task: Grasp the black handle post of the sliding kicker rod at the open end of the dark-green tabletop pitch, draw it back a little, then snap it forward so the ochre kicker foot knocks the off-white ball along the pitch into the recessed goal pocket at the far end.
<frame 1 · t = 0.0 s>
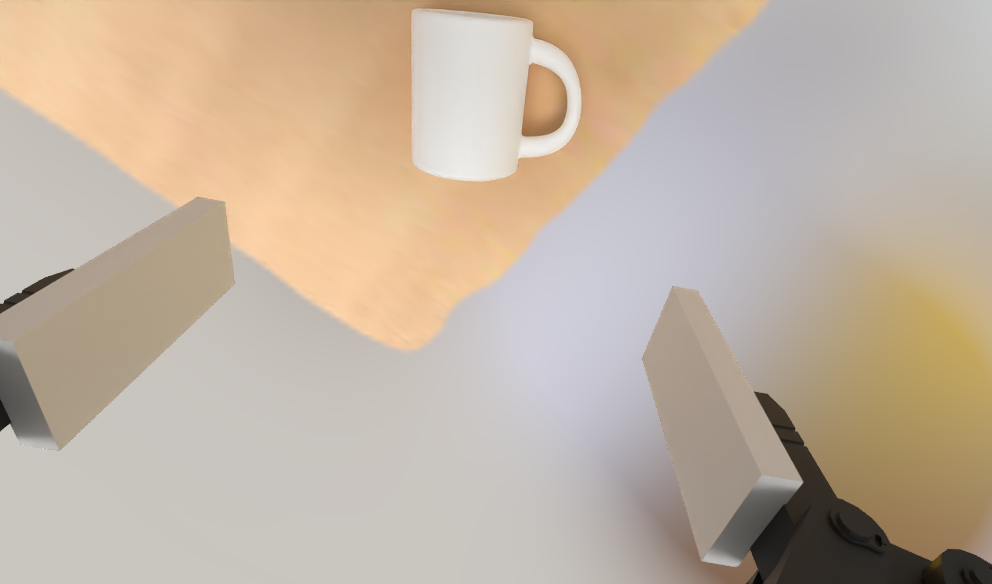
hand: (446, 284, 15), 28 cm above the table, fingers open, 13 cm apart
mug: (500, 88, 38), on the table
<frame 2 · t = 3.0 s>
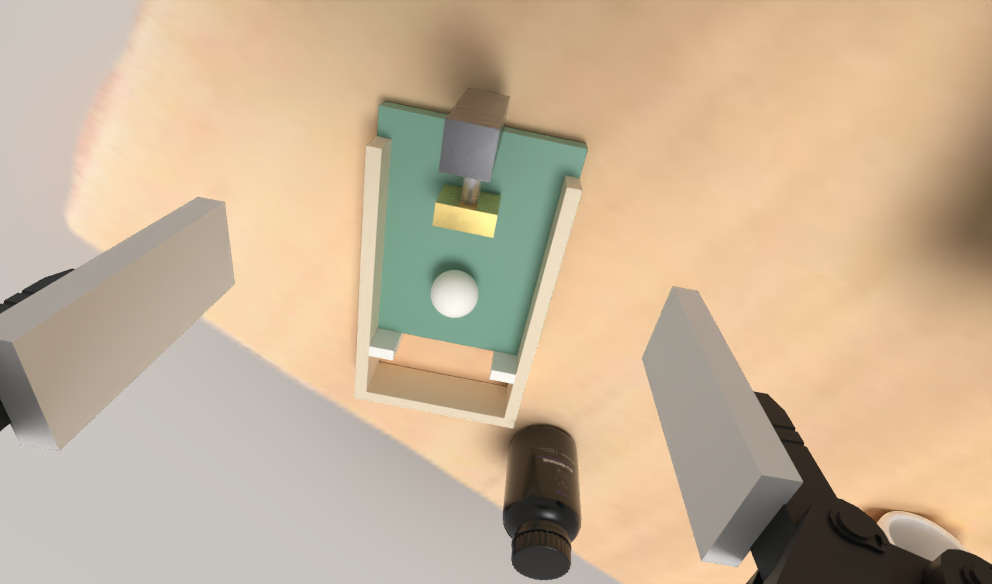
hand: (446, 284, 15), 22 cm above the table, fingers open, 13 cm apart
supplement bottle: (542, 445, 50), on the table
pitch: (460, 272, 40), on the table
mug: (895, 539, 53), on the table
ball: (454, 293, 37), point 3 cm above the table, touching pitch
kicker rod: (470, 176, 29), point 6 cm above the table, slide at 0.0 cm
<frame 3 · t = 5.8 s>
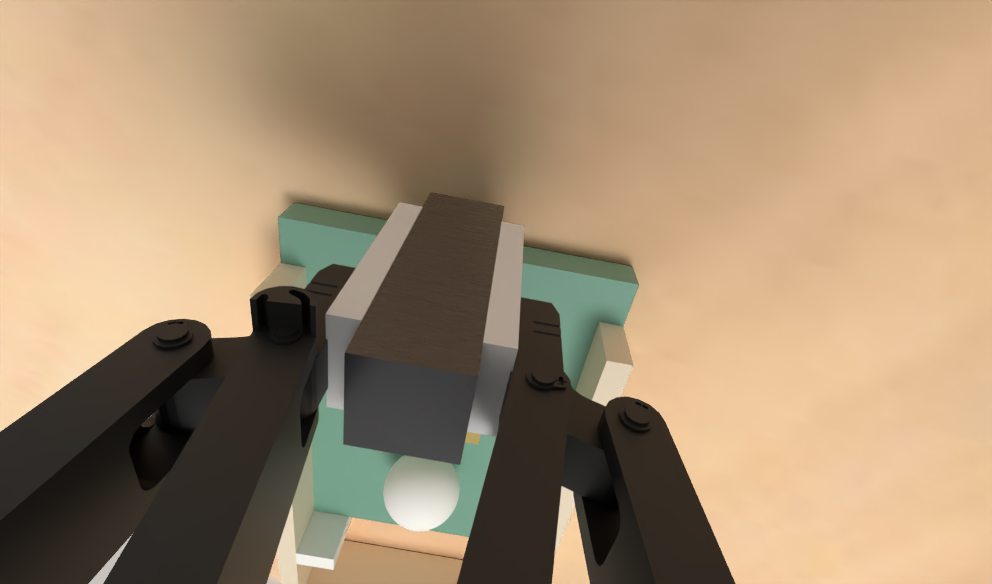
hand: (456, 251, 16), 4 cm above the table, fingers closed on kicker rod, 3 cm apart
pitch: (434, 436, 26), on the table
ball: (421, 489, 23), point 3 cm above the table, touching pitch
kicker rod: (432, 370, 15), point 6 cm above the table, slide at 0.0 cm, touching gripper
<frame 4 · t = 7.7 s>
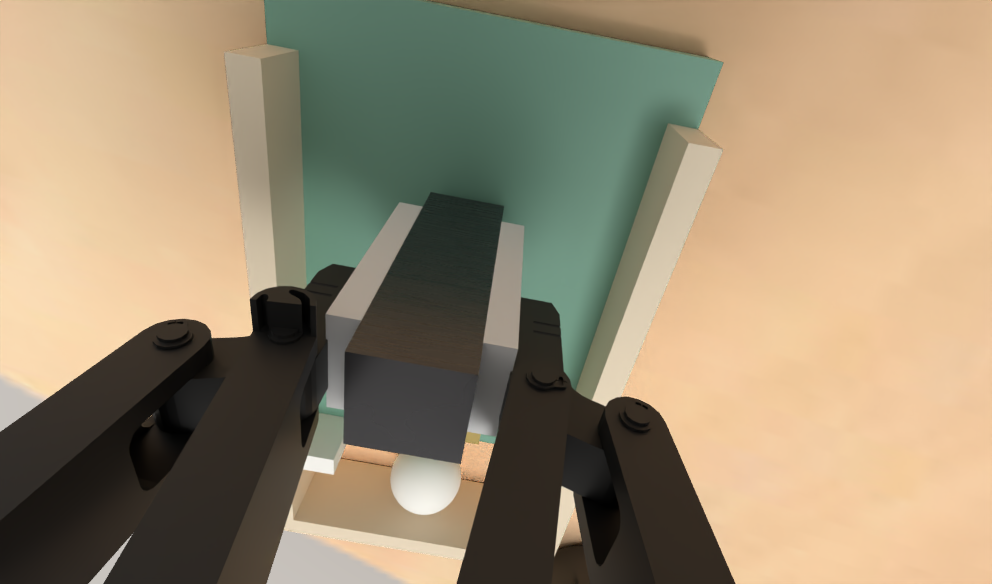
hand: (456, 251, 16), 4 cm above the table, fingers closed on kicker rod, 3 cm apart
supplement bottle: (585, 569, 32), on the table
pitch: (452, 315, 22), on the table
ball: (426, 476, 25), point 2 cm above the table, tilted 64°
kicker rod: (432, 369, 15), point 6 cm above the table, slide at 7.9 cm, touching gripper
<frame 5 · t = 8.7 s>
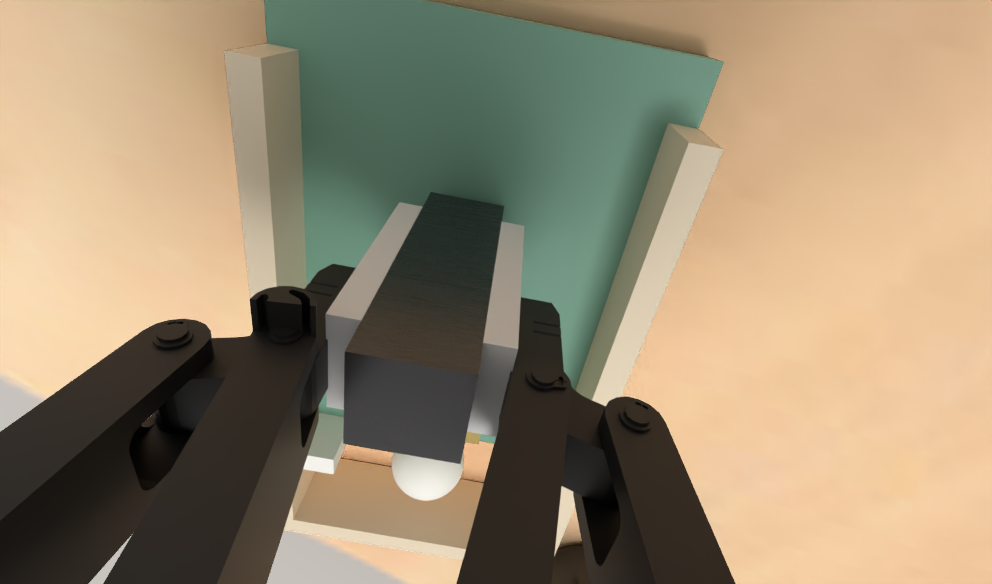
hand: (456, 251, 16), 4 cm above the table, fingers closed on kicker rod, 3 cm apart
supplement bottle: (585, 569, 32), on the table
pitch: (452, 315, 22), on the table
ball: (428, 461, 25), point 2 cm above the table, tilted 100°
kicker rod: (432, 369, 15), point 6 cm above the table, slide at 7.9 cm, touching gripper
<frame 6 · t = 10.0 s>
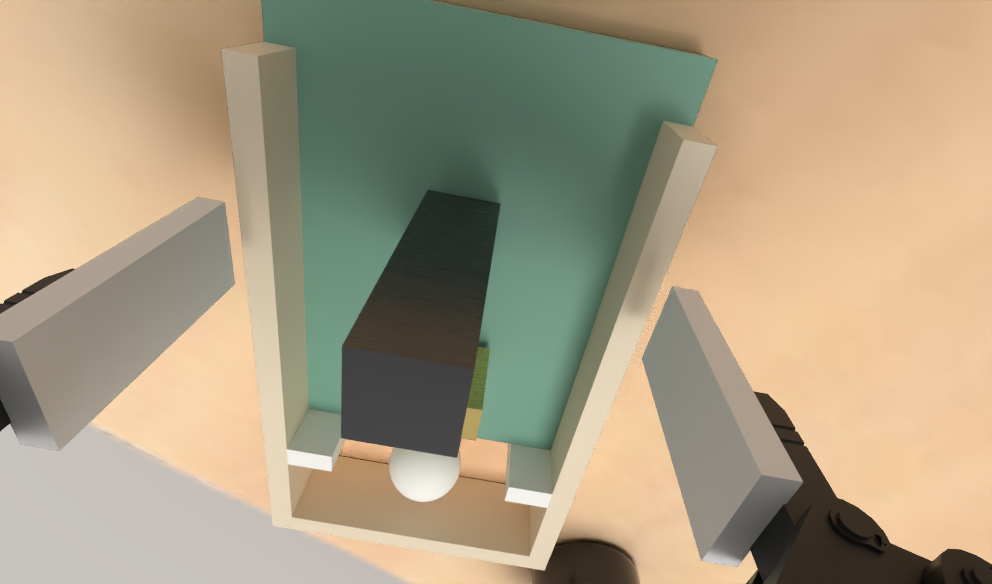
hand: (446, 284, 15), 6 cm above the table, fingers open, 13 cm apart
supplement bottle: (582, 565, 32), on the table
pitch: (450, 313, 22), on the table
ball: (425, 463, 25), point 2 cm above the table, tilted 89°
kicker rod: (429, 365, 16), point 6 cm above the table, slide at 7.9 cm
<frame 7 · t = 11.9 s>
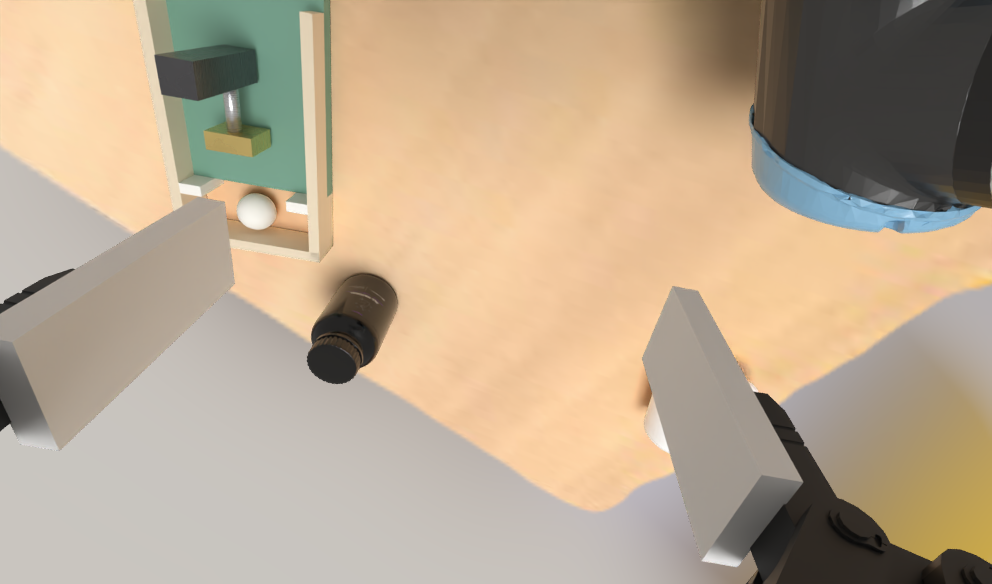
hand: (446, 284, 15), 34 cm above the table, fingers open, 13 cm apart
supplement bottle: (369, 297, 56), on the table
pitch: (257, 119, 46), on the table
mug: (695, 378, 60), on the table
ball: (256, 211, 49), point 2 cm above the table, tilted 73°
kicker rod: (217, 106, 40), point 6 cm above the table, slide at 7.9 cm
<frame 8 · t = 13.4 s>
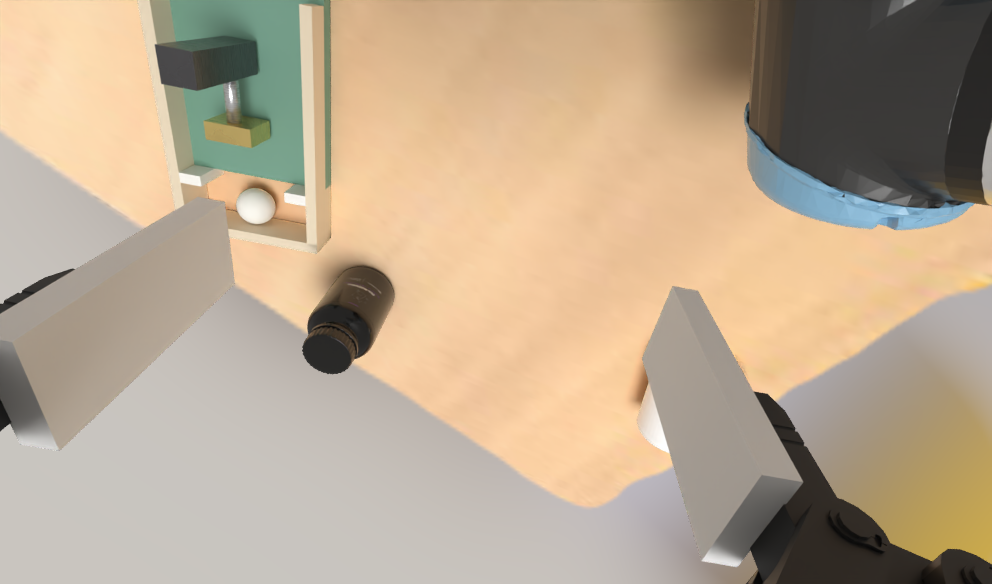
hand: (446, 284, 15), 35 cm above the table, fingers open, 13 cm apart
supplement bottle: (366, 289, 57), on the table
pitch: (257, 110, 47), on the table
mug: (689, 376, 60), on the table
ball: (256, 206, 50), point 2 cm above the table, tilted 60°
kicker rod: (216, 97, 40), point 6 cm above the table, slide at 7.9 cm
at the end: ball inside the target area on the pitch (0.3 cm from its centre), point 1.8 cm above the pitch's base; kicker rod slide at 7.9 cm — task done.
